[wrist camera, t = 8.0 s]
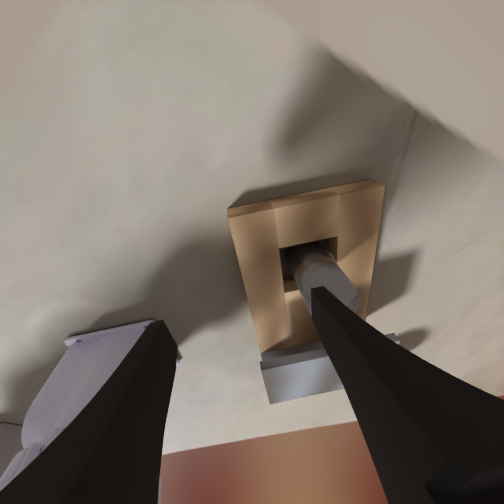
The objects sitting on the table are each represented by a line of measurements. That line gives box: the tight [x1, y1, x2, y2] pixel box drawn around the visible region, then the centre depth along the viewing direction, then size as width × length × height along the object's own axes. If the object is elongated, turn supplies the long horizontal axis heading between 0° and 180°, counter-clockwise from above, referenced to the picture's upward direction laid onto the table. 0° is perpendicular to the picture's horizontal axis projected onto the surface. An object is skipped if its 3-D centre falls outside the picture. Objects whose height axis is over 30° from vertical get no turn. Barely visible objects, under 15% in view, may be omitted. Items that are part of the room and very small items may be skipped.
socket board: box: [227, 179, 400, 404], centre depth 20 cm, size 12×18×7 cm, turn 10°
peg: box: [285, 240, 362, 317], centre depth 18 cm, size 4×4×7 cm
